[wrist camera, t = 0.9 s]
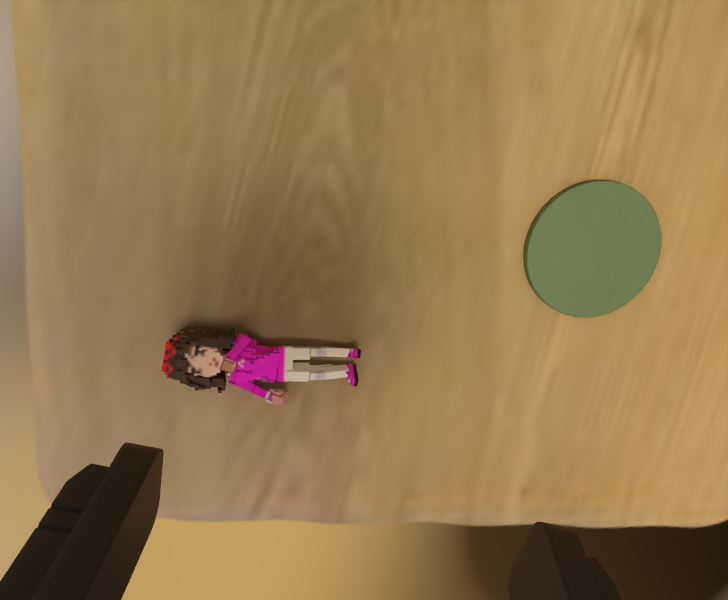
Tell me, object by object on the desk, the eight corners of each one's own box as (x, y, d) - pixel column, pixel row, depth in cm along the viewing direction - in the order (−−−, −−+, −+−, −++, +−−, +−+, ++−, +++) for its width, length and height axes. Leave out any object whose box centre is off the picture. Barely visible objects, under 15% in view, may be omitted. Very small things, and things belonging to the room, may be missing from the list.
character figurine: (356, 316, 38) (167, 307, 35) (373, 347, 33) (157, 340, 30) (346, 392, 40) (166, 390, 37) (361, 431, 35) (155, 432, 32)
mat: (542, 169, 35) (546, 170, 35) (674, 191, 36) (679, 192, 36) (509, 306, 38) (512, 308, 37) (633, 322, 39) (638, 325, 38)
